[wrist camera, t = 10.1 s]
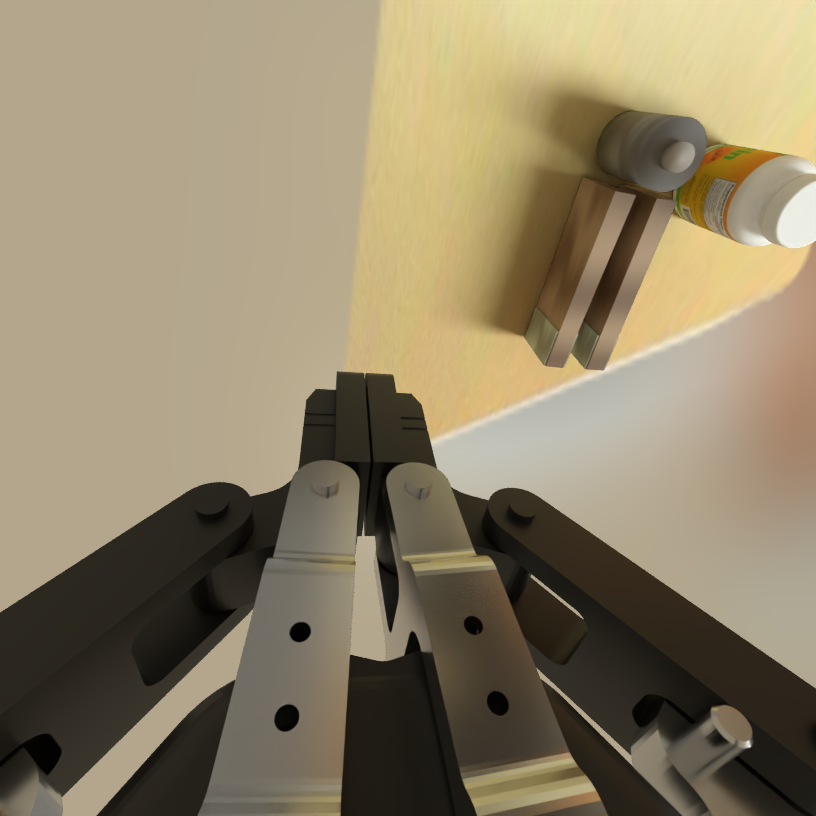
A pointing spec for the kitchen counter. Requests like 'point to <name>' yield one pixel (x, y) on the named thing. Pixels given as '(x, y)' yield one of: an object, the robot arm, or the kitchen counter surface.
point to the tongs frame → (636, 215)
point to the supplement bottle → (752, 196)
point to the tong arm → (577, 269)
